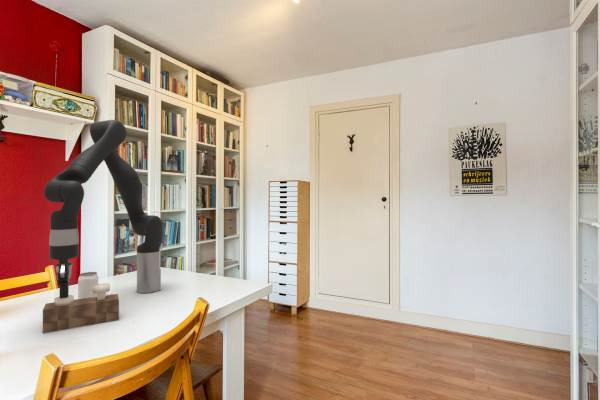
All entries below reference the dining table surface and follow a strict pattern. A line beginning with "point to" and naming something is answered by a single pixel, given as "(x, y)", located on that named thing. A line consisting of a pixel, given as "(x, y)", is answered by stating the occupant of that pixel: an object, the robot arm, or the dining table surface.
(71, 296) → the knob
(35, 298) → the dining table surface
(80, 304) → the mount
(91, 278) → the can
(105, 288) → the knob
